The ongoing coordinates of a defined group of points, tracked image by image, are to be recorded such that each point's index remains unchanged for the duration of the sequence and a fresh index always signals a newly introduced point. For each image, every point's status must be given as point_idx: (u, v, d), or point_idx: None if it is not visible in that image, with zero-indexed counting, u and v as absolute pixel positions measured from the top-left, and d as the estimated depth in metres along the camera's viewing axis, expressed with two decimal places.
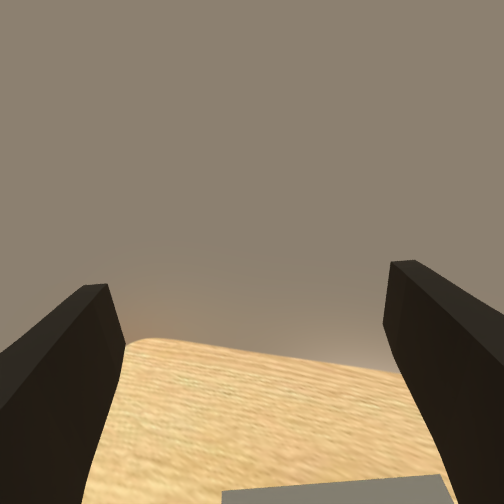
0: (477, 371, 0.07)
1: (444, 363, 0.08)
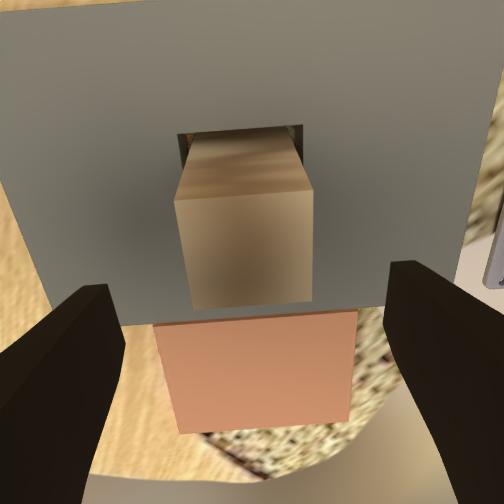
0: (477, 371, 0.07)
1: (444, 363, 0.08)
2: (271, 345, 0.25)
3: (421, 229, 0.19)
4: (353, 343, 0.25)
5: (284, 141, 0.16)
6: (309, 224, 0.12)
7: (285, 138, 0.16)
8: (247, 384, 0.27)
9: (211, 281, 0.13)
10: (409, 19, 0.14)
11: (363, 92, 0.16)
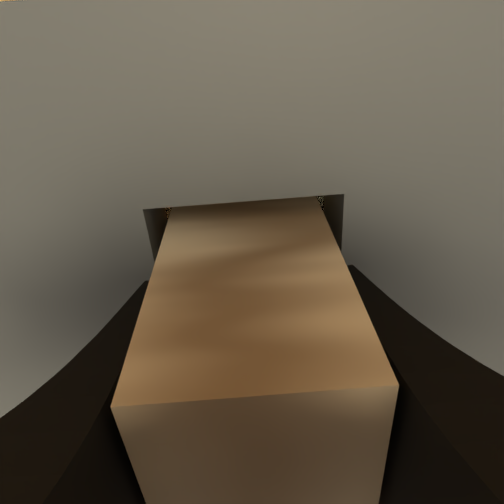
0: None
1: None
2: None
3: None
4: None
5: (315, 222, 0.10)
6: (383, 435, 0.06)
7: (315, 215, 0.10)
8: None
9: None
10: None
11: (444, 146, 0.10)
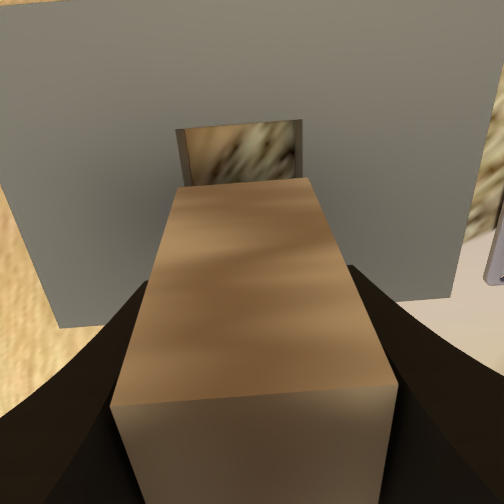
0: None
1: None
2: None
3: (421, 224, 0.19)
4: None
5: (314, 221, 0.10)
6: (383, 435, 0.06)
7: (315, 214, 0.10)
8: None
9: None
10: (409, 12, 0.14)
11: (363, 86, 0.15)
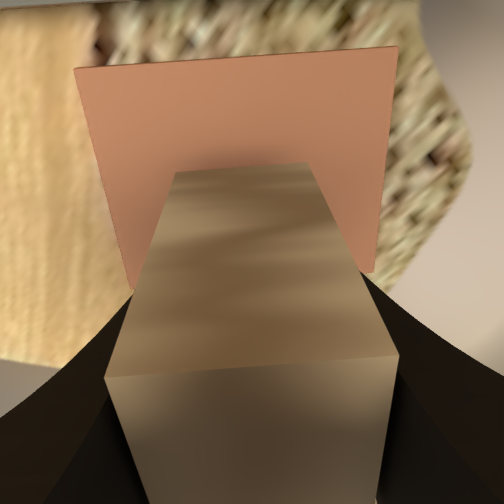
0: None
1: None
2: (262, 117, 0.16)
3: None
4: (388, 117, 0.16)
5: (314, 203, 0.10)
6: (382, 409, 0.06)
7: (314, 196, 0.10)
8: None
9: (189, 491, 0.07)
10: None
11: None
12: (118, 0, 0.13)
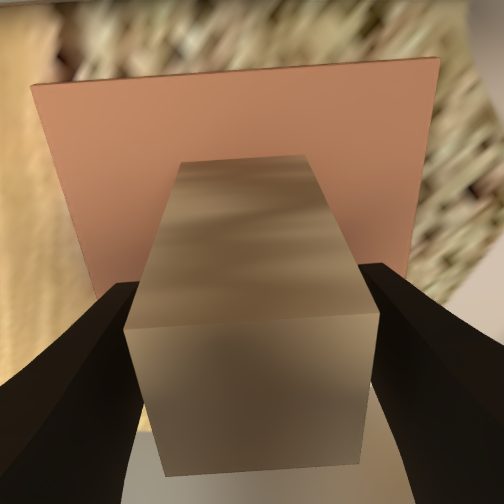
0: (429, 375, 0.07)
1: (402, 366, 0.08)
2: (268, 144, 0.13)
3: None
4: (423, 143, 0.13)
5: (310, 190, 0.11)
6: (366, 363, 0.07)
7: (310, 184, 0.11)
8: None
9: (194, 441, 0.08)
10: None
11: None
12: None
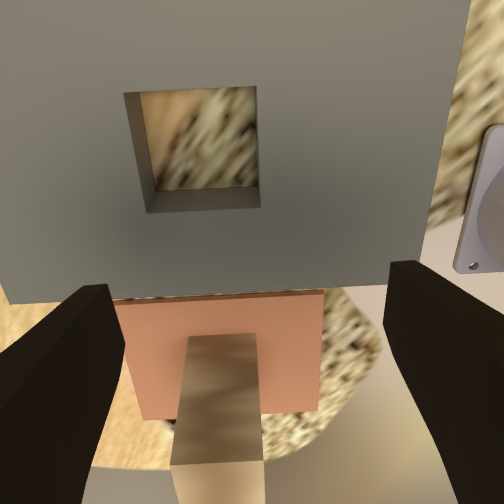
0: (477, 371, 0.07)
1: (444, 363, 0.08)
2: (235, 328, 0.24)
3: (383, 204, 0.18)
4: (320, 328, 0.24)
5: (252, 370, 0.22)
6: (261, 475, 0.18)
7: (253, 365, 0.22)
8: None
9: (194, 501, 0.19)
10: None
11: (319, 52, 0.15)
12: None
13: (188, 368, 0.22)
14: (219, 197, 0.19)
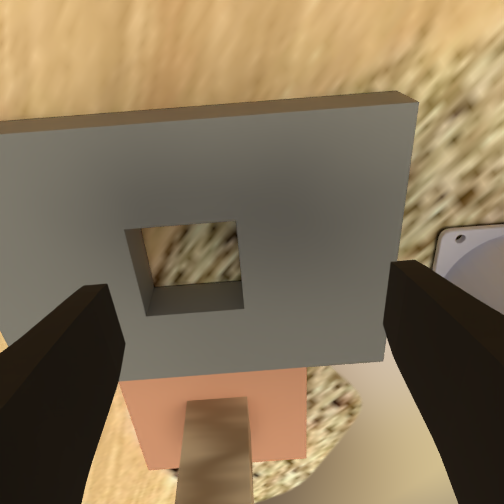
0: (477, 371, 0.07)
1: (444, 363, 0.08)
2: (228, 393, 0.27)
3: (350, 302, 0.21)
4: (304, 391, 0.27)
5: (243, 436, 0.25)
6: None
7: (244, 431, 0.25)
8: None
9: None
10: (321, 139, 0.16)
11: (287, 195, 0.18)
12: None
13: (187, 435, 0.25)
14: (209, 295, 0.22)
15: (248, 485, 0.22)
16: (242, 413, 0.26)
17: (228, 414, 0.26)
